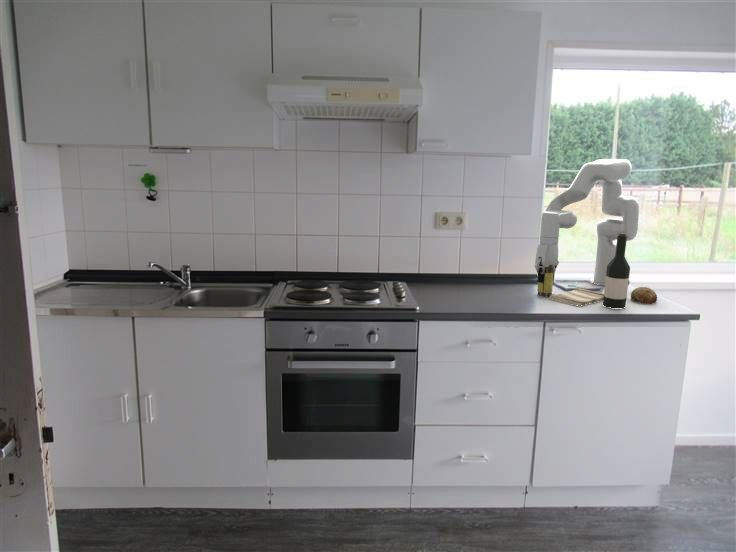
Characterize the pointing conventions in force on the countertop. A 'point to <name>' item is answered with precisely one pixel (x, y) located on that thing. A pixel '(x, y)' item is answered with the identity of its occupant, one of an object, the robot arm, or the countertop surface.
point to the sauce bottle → (546, 283)
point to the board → (578, 297)
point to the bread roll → (644, 295)
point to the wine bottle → (617, 276)
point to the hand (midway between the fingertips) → (545, 281)
